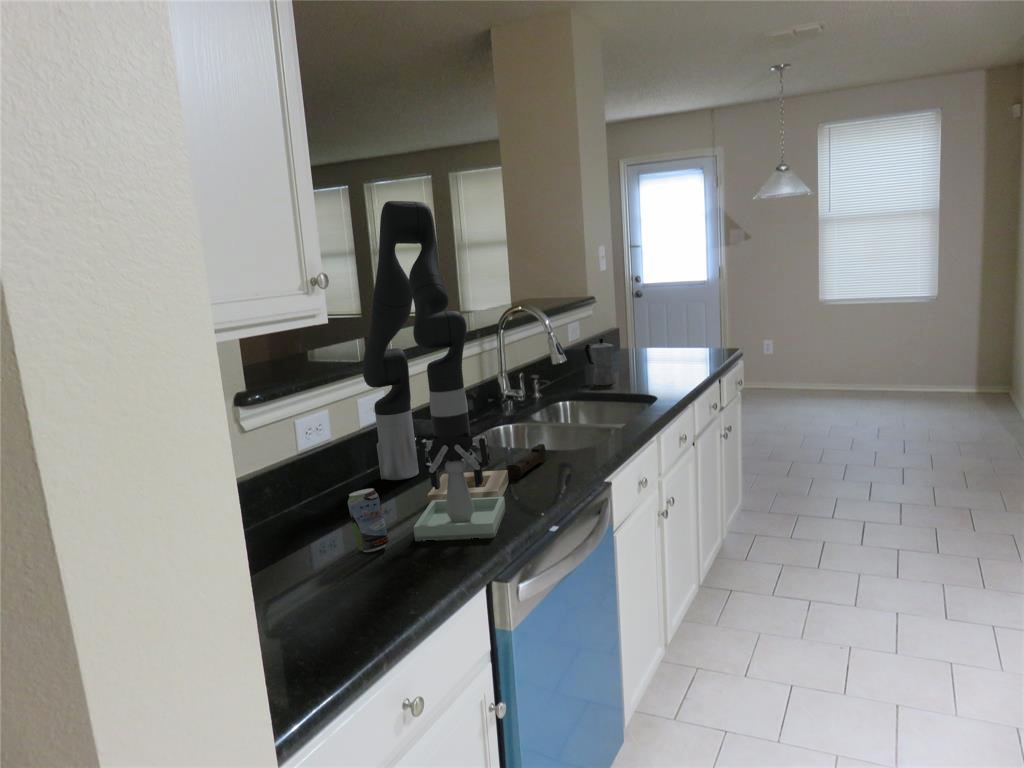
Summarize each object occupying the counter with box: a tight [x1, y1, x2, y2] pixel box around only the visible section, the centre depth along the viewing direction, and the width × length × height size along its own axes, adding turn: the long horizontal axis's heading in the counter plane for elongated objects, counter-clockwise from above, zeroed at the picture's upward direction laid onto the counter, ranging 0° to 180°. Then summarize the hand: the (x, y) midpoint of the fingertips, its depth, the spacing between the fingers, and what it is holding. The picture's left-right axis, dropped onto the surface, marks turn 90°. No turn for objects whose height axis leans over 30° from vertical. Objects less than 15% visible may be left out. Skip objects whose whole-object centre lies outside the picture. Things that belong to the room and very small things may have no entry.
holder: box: [427, 469, 510, 505], centre depth 178 cm, size 16×16×3 cm
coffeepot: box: [584, 337, 617, 386], centre depth 301 cm, size 15×9×18 cm, turn 44°
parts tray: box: [413, 496, 506, 542], centre depth 158 cm, size 16×16×3 cm
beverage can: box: [347, 487, 389, 553], centre depth 149 cm, size 6×7×12 cm
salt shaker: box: [444, 458, 474, 523], centre depth 158 cm, size 6×6×13 cm
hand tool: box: [505, 443, 547, 480], centre depth 195 cm, size 19×4×5 cm, turn 150°
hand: (458, 487), depth 157 cm, fingers open, 8 cm apart
